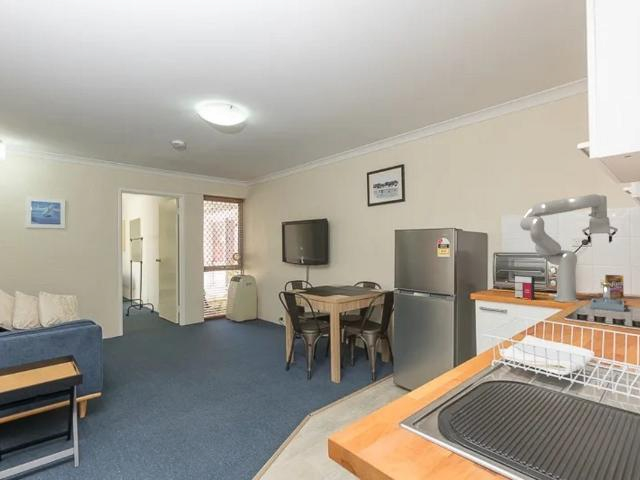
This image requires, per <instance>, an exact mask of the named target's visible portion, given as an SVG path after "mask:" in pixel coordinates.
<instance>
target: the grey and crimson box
mask: <svg viewBox="0 0 640 480" xmlns="http://www.w3.org/2000/svg"><path fill="white" fill-rule="evenodd" d="M513 277H514V298H515V297H521V298H528V299H534V300H535V282H536V280H535V279H536V277H535V276H534V275H522V274H521V275H519V274H518V275H514V276H513ZM528 299H527V300H528Z"/></svg>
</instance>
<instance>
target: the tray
mask: <svg viewBox="0 0 640 480" xmlns="http://www.w3.org/2000/svg"><path fill="white" fill-rule="evenodd" d="M589 309H591V310H592V309H593V310H600V311H601V310H602V311H610V312H611V311H613V312H621V313H623V312H624V311H625V300H621V299H620V300H610V304H607V303H603V299H598V298H591V300H590V302H589Z"/></svg>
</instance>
